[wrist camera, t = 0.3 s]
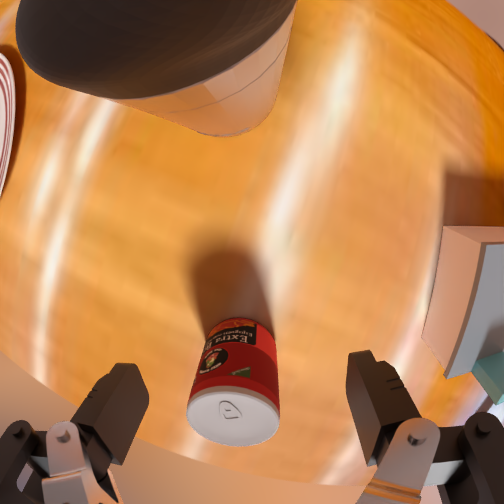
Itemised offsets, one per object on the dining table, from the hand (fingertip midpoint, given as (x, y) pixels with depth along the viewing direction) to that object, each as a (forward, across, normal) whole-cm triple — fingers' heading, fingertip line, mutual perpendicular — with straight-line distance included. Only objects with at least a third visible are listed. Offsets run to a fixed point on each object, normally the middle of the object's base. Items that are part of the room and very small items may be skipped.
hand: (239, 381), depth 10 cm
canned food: (+18, +3, +11) cm, 22 cm away
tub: (+18, -26, +7) cm, 32 cm away
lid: (+12, -26, +7) cm, 29 cm away
